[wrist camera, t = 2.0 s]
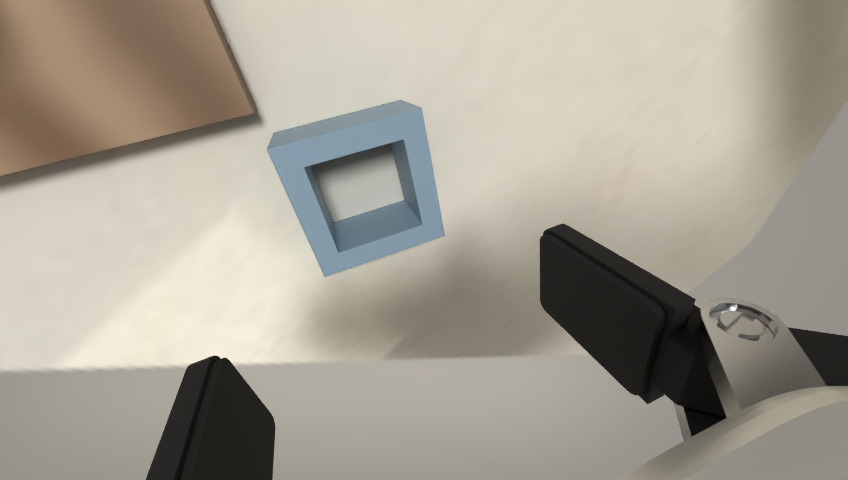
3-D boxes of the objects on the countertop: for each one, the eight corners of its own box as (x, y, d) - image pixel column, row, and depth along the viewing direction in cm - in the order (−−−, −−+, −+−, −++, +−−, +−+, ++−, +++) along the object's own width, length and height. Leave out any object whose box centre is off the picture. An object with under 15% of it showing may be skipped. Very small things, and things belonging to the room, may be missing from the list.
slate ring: (400, 100, 19) (421, 108, 16) (424, 210, 23) (444, 235, 20) (273, 133, 18) (266, 149, 14) (321, 243, 22) (324, 277, 18)
